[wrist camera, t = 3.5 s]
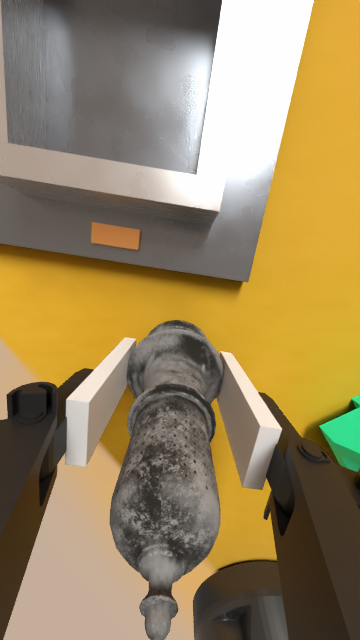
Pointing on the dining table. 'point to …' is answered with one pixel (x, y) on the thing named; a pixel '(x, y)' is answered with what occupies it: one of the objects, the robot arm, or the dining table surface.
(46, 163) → the plate
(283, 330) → the dining table surface
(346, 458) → the camera mount
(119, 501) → the gray metallic stepped cylinder
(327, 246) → the dining table surface
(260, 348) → the dining table surface
